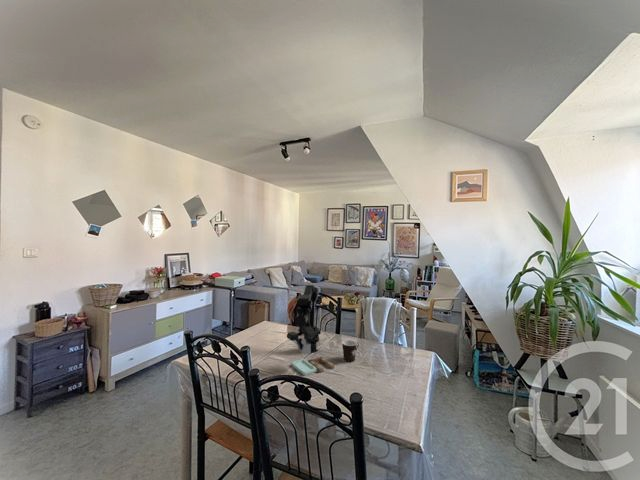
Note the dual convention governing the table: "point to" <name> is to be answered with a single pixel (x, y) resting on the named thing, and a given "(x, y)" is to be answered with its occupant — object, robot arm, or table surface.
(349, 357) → the coffee mug
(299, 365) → the pale teal tray
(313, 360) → the socket
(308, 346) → the grey rectangular block
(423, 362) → the table surface
